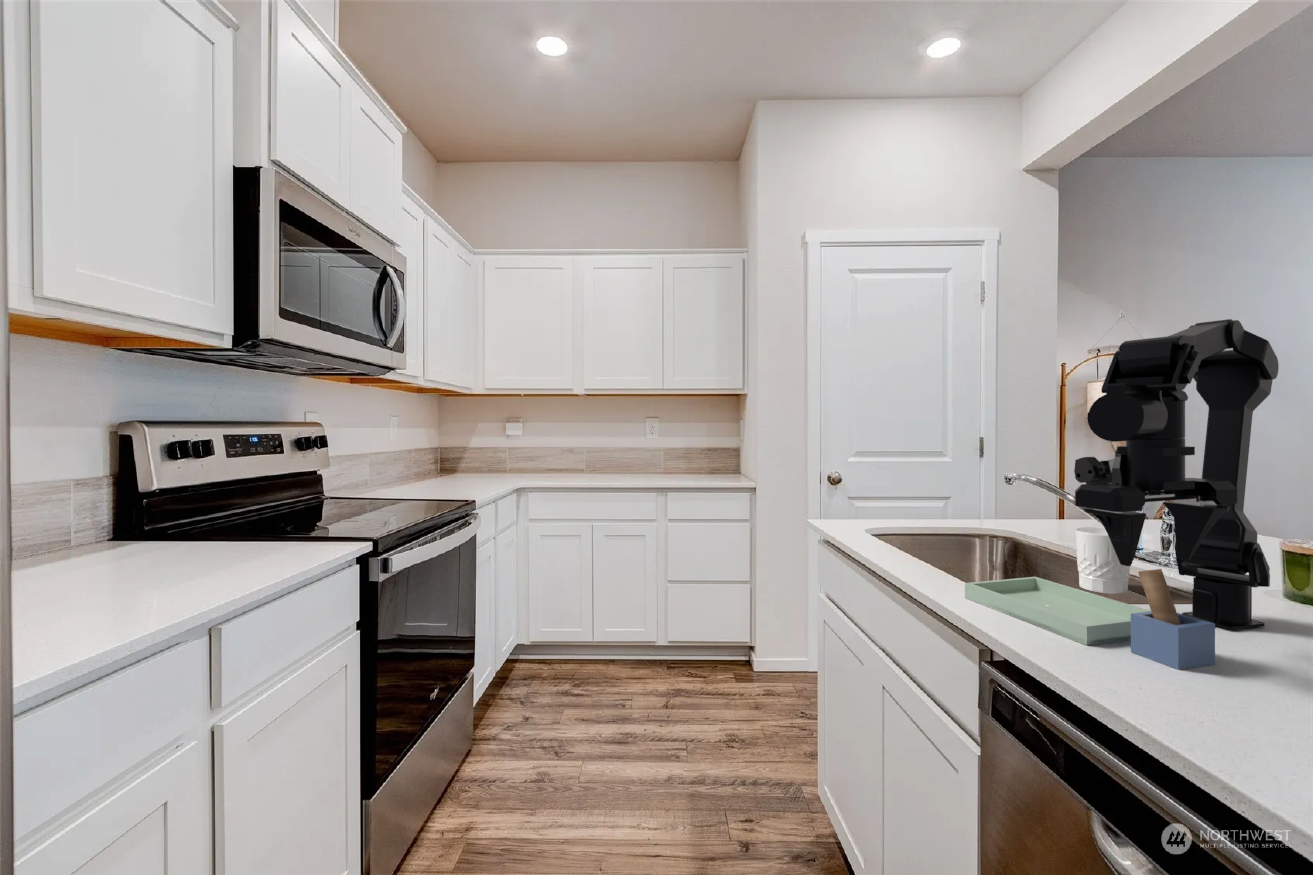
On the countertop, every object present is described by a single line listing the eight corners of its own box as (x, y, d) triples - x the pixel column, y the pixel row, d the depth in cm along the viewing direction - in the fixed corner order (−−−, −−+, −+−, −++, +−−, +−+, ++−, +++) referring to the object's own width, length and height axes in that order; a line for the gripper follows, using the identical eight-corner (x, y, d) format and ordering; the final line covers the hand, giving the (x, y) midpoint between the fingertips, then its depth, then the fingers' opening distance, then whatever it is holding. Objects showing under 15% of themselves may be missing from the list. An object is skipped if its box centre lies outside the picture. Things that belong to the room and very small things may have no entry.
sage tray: (1035, 591, 103) (1035, 576, 103) (1171, 634, 81) (1171, 616, 81) (964, 598, 100) (964, 583, 100) (1086, 645, 78) (1086, 626, 78)
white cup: (1142, 596, 99) (1142, 535, 99) (1089, 594, 100) (1088, 535, 100) (1116, 583, 107) (1116, 527, 106) (1066, 582, 108) (1066, 526, 108)
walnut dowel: (1148, 642, 78) (1147, 564, 77) (1196, 659, 72) (1196, 575, 72) (1133, 644, 77) (1133, 565, 77) (1180, 661, 72) (1180, 576, 71)
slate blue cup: (1165, 647, 77) (1165, 609, 77) (1214, 664, 72) (1215, 623, 72) (1130, 651, 76) (1130, 613, 76) (1178, 669, 70) (1178, 628, 70)
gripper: (1148, 434, 85) (1149, 544, 85) (1038, 439, 81) (1039, 554, 81) (1240, 436, 74) (1240, 562, 74) (1118, 441, 70) (1118, 574, 70)
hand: (1155, 562), depth 75 cm, fingers open, 9 cm apart
